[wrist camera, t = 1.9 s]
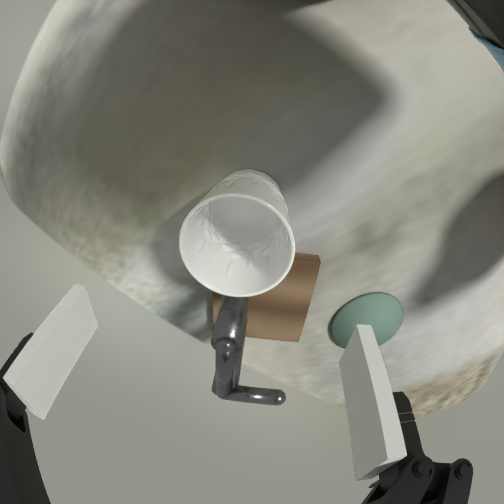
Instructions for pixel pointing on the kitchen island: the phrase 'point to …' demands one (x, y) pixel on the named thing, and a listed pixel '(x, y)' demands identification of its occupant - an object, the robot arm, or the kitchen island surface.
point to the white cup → (239, 236)
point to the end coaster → (368, 317)
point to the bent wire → (235, 356)
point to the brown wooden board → (281, 303)
